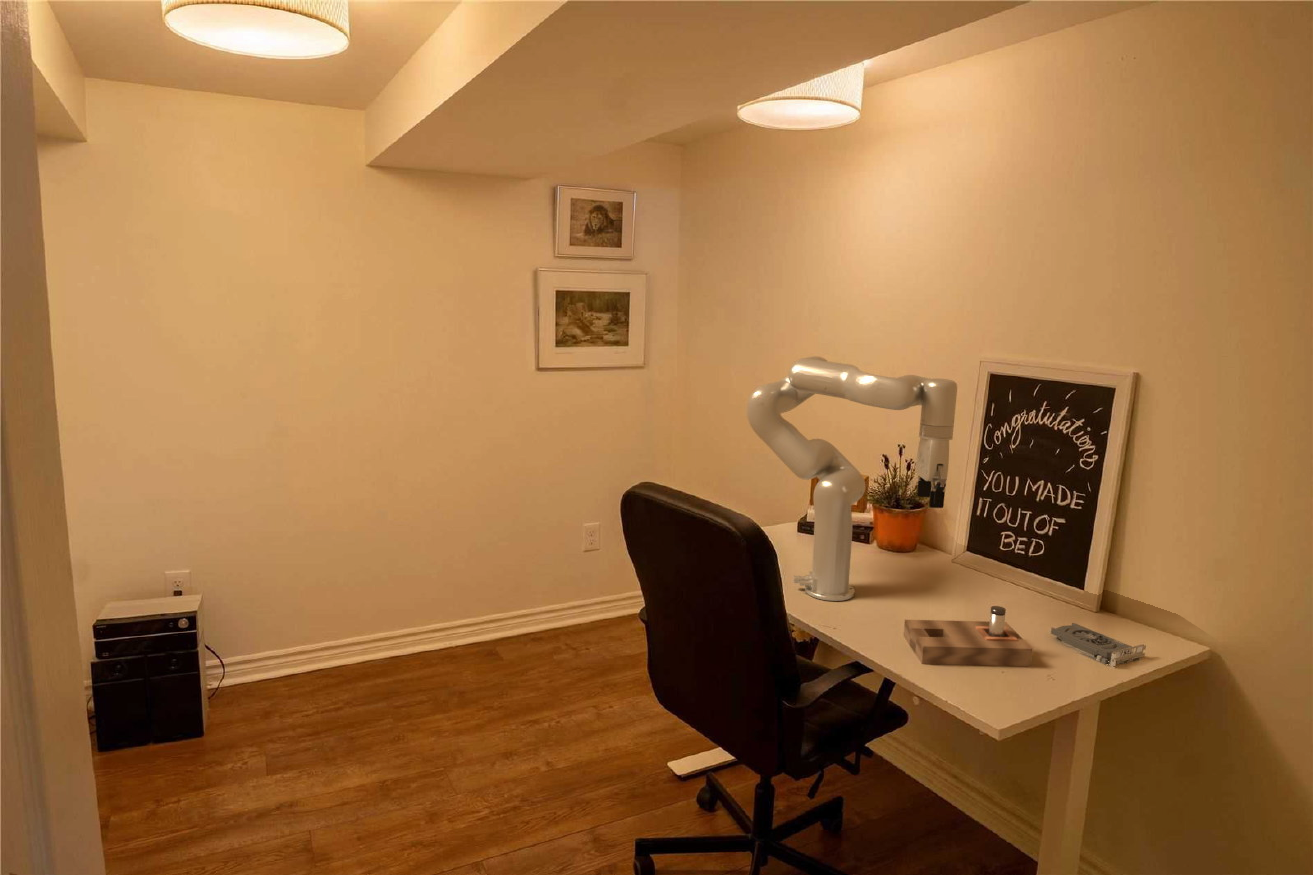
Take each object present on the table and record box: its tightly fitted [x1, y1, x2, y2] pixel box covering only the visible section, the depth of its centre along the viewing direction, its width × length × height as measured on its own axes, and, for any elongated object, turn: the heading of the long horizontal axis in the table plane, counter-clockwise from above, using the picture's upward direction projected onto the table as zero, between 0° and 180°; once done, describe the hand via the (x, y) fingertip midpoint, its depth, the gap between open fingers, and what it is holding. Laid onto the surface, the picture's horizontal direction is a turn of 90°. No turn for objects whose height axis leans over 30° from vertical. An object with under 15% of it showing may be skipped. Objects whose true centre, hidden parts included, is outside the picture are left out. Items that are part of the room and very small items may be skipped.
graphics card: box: [1050, 622, 1147, 669], centre depth 185 cm, size 17×4×12 cm
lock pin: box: [988, 605, 1006, 637], centre depth 181 cm, size 3×3×10 cm
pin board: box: [903, 619, 1033, 668], centre depth 182 cm, size 23×14×4 cm, turn 89°
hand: (929, 501), depth 198 cm, fingers open, 9 cm apart
